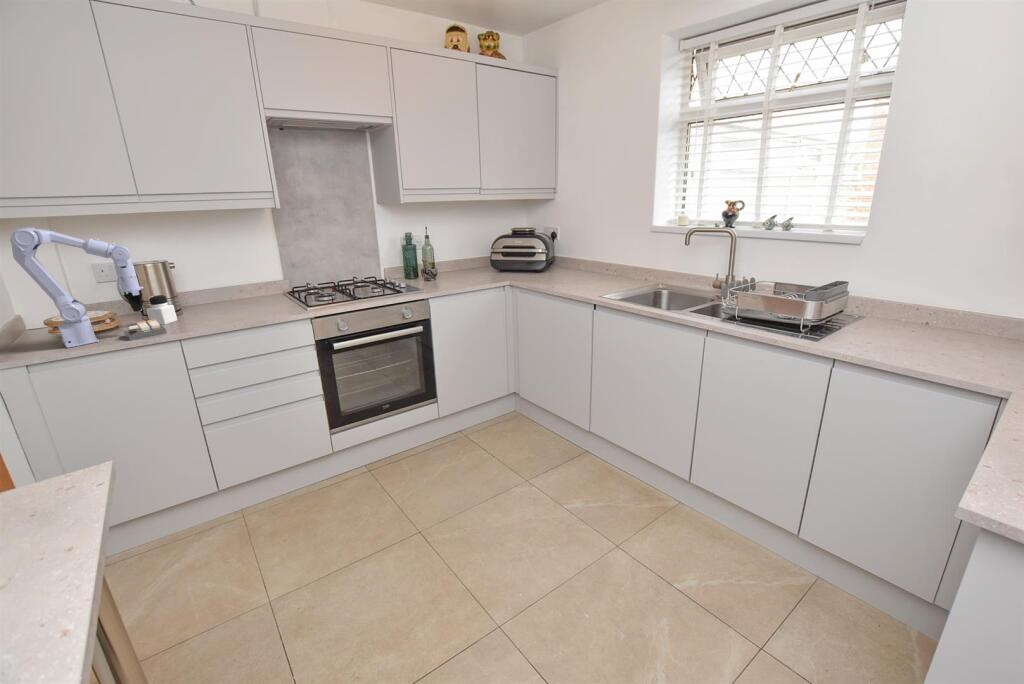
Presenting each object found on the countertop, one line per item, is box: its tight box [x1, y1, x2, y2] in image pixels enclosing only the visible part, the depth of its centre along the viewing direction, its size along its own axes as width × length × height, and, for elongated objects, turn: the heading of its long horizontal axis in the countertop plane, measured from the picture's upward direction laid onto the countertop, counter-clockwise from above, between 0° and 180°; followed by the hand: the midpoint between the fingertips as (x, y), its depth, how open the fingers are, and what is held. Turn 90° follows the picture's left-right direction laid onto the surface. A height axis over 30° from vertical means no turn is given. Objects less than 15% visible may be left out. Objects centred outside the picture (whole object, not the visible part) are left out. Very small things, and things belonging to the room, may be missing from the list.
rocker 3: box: [146, 319, 160, 329], centre depth 190 cm, size 3×6×1 cm, turn 48°
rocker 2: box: [136, 320, 150, 331], centre depth 188 cm, size 3×6×1 cm, turn 48°
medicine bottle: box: [146, 294, 178, 326], centre depth 205 cm, size 7×7×12 cm
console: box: [122, 325, 168, 341], centre depth 189 cm, size 12×10×2 cm
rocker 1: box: [126, 324, 139, 331], centre depth 185 cm, size 3×6×1 cm, turn 48°
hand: (137, 310), depth 188 cm, fingers closed
